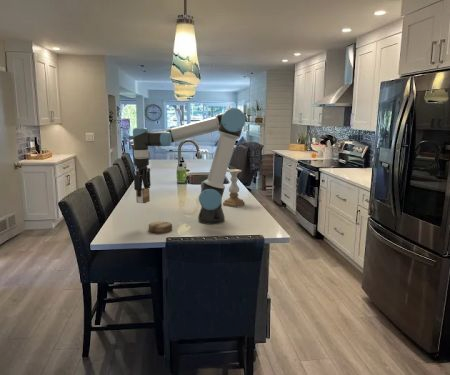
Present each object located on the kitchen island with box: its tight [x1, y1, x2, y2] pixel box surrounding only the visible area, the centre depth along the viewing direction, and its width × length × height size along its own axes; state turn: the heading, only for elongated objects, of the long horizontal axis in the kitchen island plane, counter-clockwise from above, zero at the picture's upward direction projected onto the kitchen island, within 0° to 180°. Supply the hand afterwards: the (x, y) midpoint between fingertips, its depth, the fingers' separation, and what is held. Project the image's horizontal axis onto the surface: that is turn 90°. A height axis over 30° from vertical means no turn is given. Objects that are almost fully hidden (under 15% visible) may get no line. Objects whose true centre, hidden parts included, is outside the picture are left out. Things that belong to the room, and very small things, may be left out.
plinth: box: [148, 221, 173, 235], centre depth 194 cm, size 12×12×3 cm
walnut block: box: [135, 187, 151, 204], centre depth 196 cm, size 5×5×7 cm
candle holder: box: [222, 168, 246, 208], centre depth 249 cm, size 11×11×24 cm
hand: (143, 201), depth 197 cm, fingers closed on walnut block, 5 cm apart
